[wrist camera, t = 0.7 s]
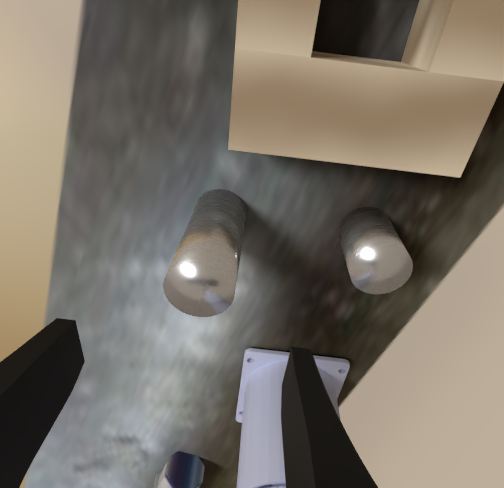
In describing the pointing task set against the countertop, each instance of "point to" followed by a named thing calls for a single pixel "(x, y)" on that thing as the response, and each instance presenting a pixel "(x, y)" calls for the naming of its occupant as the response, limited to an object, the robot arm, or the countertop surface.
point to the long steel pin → (208, 256)
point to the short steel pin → (374, 251)
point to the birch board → (367, 88)
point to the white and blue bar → (181, 472)
